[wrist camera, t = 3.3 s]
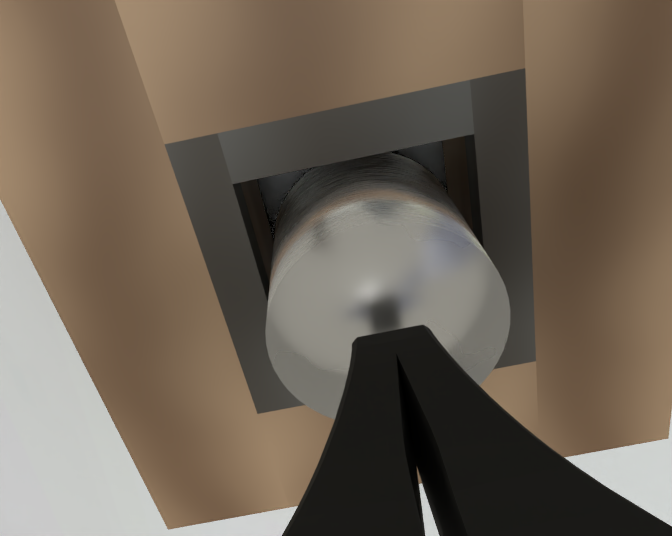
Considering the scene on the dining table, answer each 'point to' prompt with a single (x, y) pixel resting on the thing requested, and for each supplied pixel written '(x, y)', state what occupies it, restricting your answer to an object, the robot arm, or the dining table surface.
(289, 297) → the grey short rounded cylinder
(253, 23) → the band block
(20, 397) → the dining table surface
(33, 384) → the dining table surface
